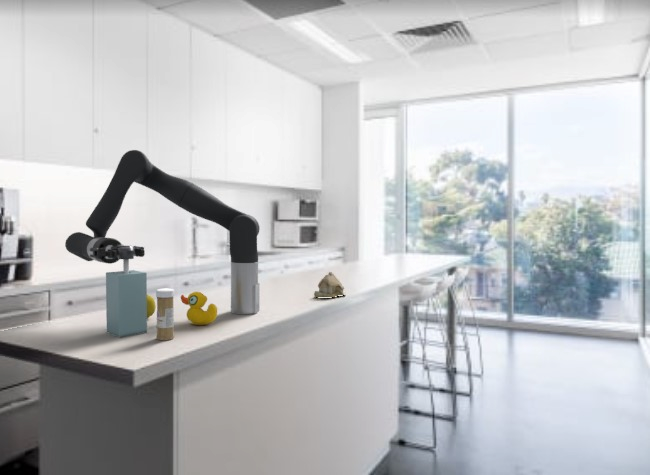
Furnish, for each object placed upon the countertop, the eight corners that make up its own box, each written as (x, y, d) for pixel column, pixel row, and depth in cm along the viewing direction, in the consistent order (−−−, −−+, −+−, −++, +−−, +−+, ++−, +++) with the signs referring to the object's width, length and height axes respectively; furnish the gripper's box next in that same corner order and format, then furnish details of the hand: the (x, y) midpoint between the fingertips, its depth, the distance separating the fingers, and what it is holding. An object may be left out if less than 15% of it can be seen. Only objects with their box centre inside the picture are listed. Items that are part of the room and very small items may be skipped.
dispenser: (106, 332, 140) (105, 272, 139) (134, 327, 146) (133, 270, 145) (119, 337, 135) (118, 275, 134) (146, 332, 140) (146, 272, 139)
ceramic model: (325, 293, 212) (326, 269, 211) (349, 295, 206) (349, 271, 206) (309, 297, 199) (309, 273, 199) (334, 300, 194) (334, 275, 193)
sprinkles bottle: (153, 338, 134) (152, 289, 133) (168, 335, 137) (167, 287, 137) (162, 341, 131) (162, 291, 130) (177, 338, 134) (177, 289, 134)
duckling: (177, 325, 149) (177, 292, 148) (184, 321, 154) (184, 289, 154) (213, 327, 147) (213, 294, 147) (219, 323, 153) (219, 291, 152)
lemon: (159, 318, 159) (159, 293, 159) (147, 321, 154) (147, 296, 153) (145, 316, 161) (144, 292, 160) (133, 320, 156) (132, 294, 155)
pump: (116, 299, 140) (115, 247, 139) (130, 297, 143) (129, 247, 142) (126, 302, 135) (126, 249, 134) (140, 300, 138) (140, 248, 137)
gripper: (79, 238, 143) (103, 241, 132) (127, 236, 154) (153, 239, 142) (79, 264, 144) (103, 269, 132) (128, 260, 154) (153, 265, 143)
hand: (129, 253), depth 137 cm, fingers open, 7 cm apart
